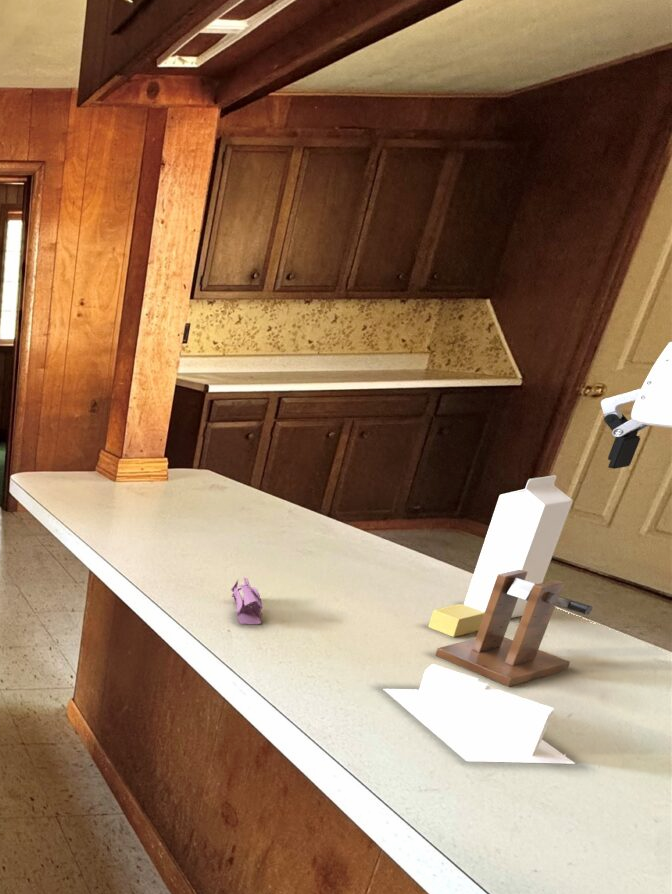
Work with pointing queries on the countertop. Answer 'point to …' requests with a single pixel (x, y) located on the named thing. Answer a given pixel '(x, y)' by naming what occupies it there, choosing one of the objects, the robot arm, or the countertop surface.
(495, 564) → the milk
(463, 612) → the butter
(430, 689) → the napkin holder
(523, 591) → the lever
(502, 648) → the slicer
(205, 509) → the countertop surface
